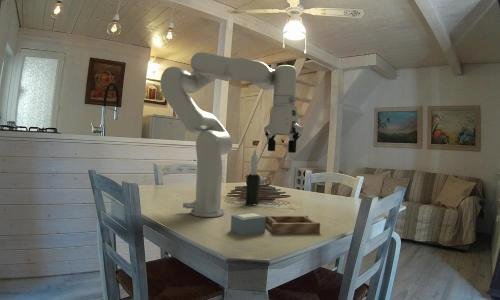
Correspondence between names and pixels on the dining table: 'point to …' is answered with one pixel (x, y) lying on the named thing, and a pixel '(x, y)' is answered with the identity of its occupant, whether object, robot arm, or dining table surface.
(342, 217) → the dining table surface
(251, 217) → the grey block
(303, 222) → the wooden tray
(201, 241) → the dining table surface
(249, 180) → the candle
